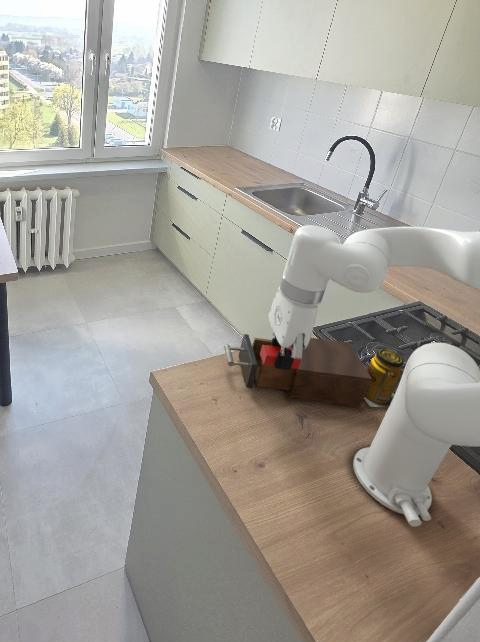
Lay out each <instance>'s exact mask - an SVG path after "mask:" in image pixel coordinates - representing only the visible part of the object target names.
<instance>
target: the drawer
mask: <svg viewBox="0 0 480 642" xmlns="http://www.w3.org/2000/svg"><path fill="white" fill-rule="evenodd" d="M271 342H272V339H268V338H267V339H266V338H259V337H254V338H253V341H252V342H251V338H250V335H249V334H248V333H243V336H242V340H241V344H240V347H239V346H238V347H237V346H230V344H228V343H226V344H224V346H223V348H224V349H223V350H224V352H225V353H224V354H225V358H226V362H227V365H228V367H233V366H240V368H241V373H242V377H243V380H244V384H245V388H247V389H252V387H253V383H254V381H255V384H256V387H261V388H263V387H264V388H269V389H277V390H284V391H287V390H291V387H292V384H293V380H294V377H295V374H296V371H297V369H295V368H291V369H290V370H284V369H276V368H275V367H274V366H269V365H264V364H263V361H262V358H261V356H260V352H261V348H262V345H271ZM232 351H236V352H238V360H239V361H236V360H234V358H233V354H232ZM239 351H240V352H239Z"/></svg>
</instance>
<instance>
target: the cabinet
mask: <svg viewBox="0 0 480 642" xmlns="http://www.w3.org/2000/svg"><path fill="white" fill-rule="evenodd" d="M289 348H293V347H291V346H290V347H289ZM371 380H372V378H371V376H370V375H369V373H368V371H367V368H366V366H365V364H364V363H363V361H362V360H361V358H360V356H359V355H358V352H357V351H356V350H355V349H354V347H353V345H352V344H351V342H350V341H349V342H348V341H341V340H333V339H332V340H331V339H324V338H317V337H311V338H310V341H309V344H308V346H307V348H306V349H304V350H303V349H302V359H301V362H300V365H299V368H298V369H297V371H296V374H295V377H294V380H293V384H292V387H291V390H286V393H287V396H288V398H289V399H290V400H299V401H305V402H313V403H320V404H327V405H335V406H336V405H337V406H342V407H349V408H357V409H360V408H361V406H362V403H363V401H364V400H365V399H364V397H365V394H366V392H367V390H368V387H369V385H370V383H371Z"/></svg>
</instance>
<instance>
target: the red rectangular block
mask: <svg viewBox="0 0 480 642" xmlns="http://www.w3.org/2000/svg"><path fill="white" fill-rule="evenodd" d="M288 349H289V350H292V349H293V348H287V349H286V350H288ZM280 351H281V347H279V346H270V345H262V348H261V352H260V356H261V358H262V361H263V364H264V365H269V366H274V364H275V361H276V357H277V354H278V352H280ZM300 362H301V360H298V359H294V361H293V364H292V367H291V368H295V369H298V368H299V365H300Z"/></svg>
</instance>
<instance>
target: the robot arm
mask: <svg viewBox="0 0 480 642" xmlns="http://www.w3.org/2000/svg"><path fill="white" fill-rule="evenodd" d="M390 267H392V268H393V267H415V268H424V269H431V270H434V271H438V272H440V273H442V274H445V275H447V276H449V277H450V278H453V279H454V280H455V281H457V282H459V283H460V284H463V285H465V286H467V287H469V288H472V289H476V290H480V231H479V230H478V231H458V230H452V229H444V228H435V227H434V228H433V227H425V226H391V227H379V228H370V229H363V230H360V231H356V232H354V233H352V234H350V235H349V236H348V237H346V239H345V240H344V242H343V243H341V239H340V237H339V235H338V234H337V233H336V232H334V231H333V230H330V229H328V228H326V227H323V226H321V225H320V226H319V225H315V224H313V225H312V224H308V225H307V224H305V225H302V226H300V227H298V228H297V229H296V230H295V232H294V235H293V238H292V242H291V246H290V249H289V253H288V255H287V260H286V263H285V267H284V269H283V273H282V277H281V281H280V284H279V286H278V288H277V290H276V293H275V296H274V298H273V301H272V304H271V307H270V310H269V313H268V321H269V324H270V326H271V329H272V331H273V332H272V338H271V340H272V342H271V345H270V346H279V347H281V351H280V352H278V354H277V357H276V361H275V364H274V367H275V368H276V369H284V370H290V369H291V367H292V364H293V361H294V359H298V360H301V359H302V349H303V350H304V349H306V348H307V346H308V344H309V341H310V338H312V335H313V332H314V328H315V325H316V319H317V314H318V308H319V305H321V303H322V301H323V297H324V294H325V291H326V289H327V286H328V284H329V280H330V281H332V282H333V283H337V284H338V285H339V286H340V287H343V288H345V289H347V290H350V291H353V292H356V293H364V294H367V293H372V292H376V290H379V289H380V288H381V287H382V286H383V284H384V282H385V280H386V277H387V272H388V269H389V268H390ZM290 346H291V347H293V349H292V350H289V349H288V350H286V349H287V348H289V347H290ZM404 366H405V367H404V370H403V372H402V374H401V377H400V379H399V380H400V381H399V382H398V386H397V388H396V391H395V393H394V394H395V395H394V398H393V400H392V402H391V404H390V406H389V407H387V410H386V411H385V413H384V416H383V419H382V421H381V423H380V425H379V427H378V429H377V431H376V433H375V435H374V438H373V440H372V442H371V444H370V446H369V447H368V446H366V447H362V448H360V449H359V450H358V451H357V452H356V453H355V455H354V457H353V461H352V467H353V471H354V475H355V477H356V479H357V480H358V482H359V483H360V485H361V486H362V487H363V489H364V490H365V491H366V492H367V493H368V494H369V495H370V496H371V497H372V498H373V499H374V500H375V501H377V502H378V503H380V504H381V505H382V506H384V507H386V508H388V509H389V510H391V511H393V512H395V513H397V514H401V515H404V517H405V519H406V521H407V523H408V525H409V526H410V527H413V528H414V527H420V526H421V525H422V523H423V522H422V521H421V519H422V520H423V521H425V522H427V521H430V520H432V517H431V514H430V513H429V509H430V507H431V505H432V501H433V499H432V493H431V489H430V487H429V484H430V482H431V481H432V479H433V478H434V476H435V474H436V472H438V471H437V470H438V469H439V467H440V465H441V464H442V462H443V460H444V459H445V457H446V455H447V454H448V452H449V450H450V448H451V447H452V446H458V447H459V446H460V447H480V368H479V366H478V364H477V363H476V361H475V360H474V359H473V357H471V355H470V354H468V353H467V352H466V351H464V350H463V349H461V348H459V347H457V346H455V345H452V344H449V343H445V342H430V343H426V344H422V345H421V346H419V347H417V348H416V349H415V350H414V351H413V352H412V353H411V354H410V356H409V357H408V359H407V362H406V363H405V365H404ZM420 517H421V519H420Z"/></svg>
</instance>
